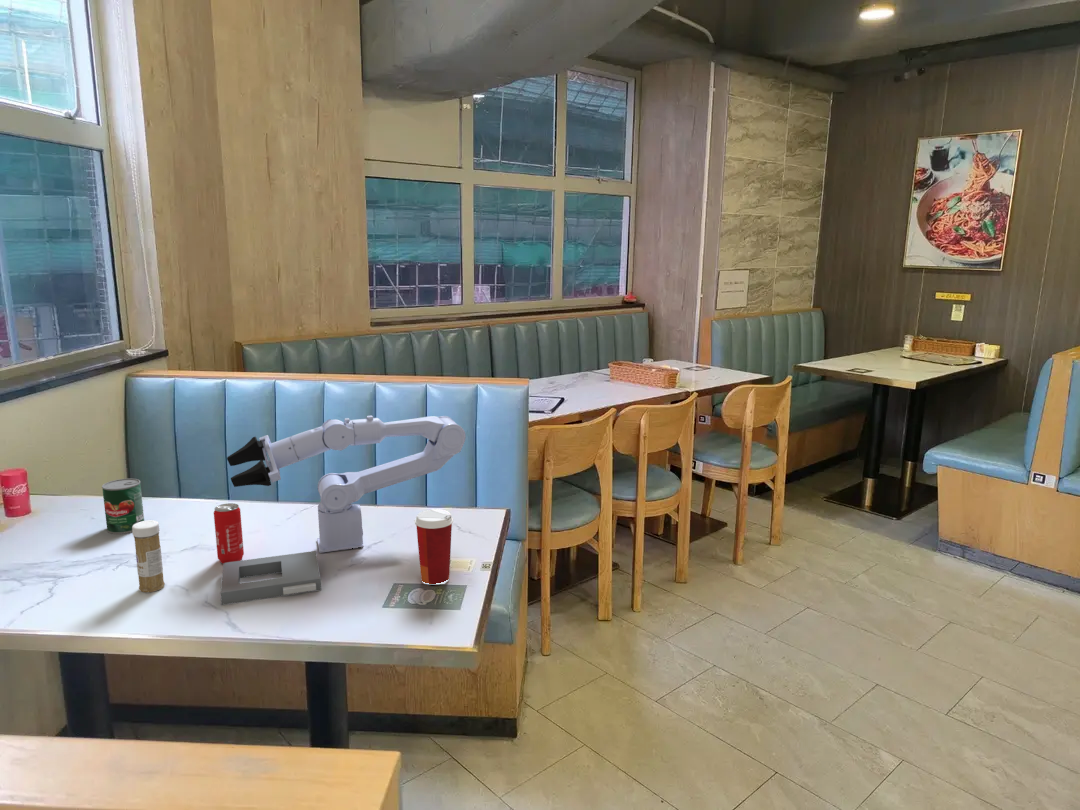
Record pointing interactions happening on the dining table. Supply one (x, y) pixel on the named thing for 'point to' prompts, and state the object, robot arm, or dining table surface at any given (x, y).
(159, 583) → the sprinkles bottle
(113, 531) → the canned tomato
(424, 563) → the paper cup
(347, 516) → the robot arm
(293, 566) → the grey tray with recess
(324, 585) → the dining table surface
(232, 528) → the red soda can
